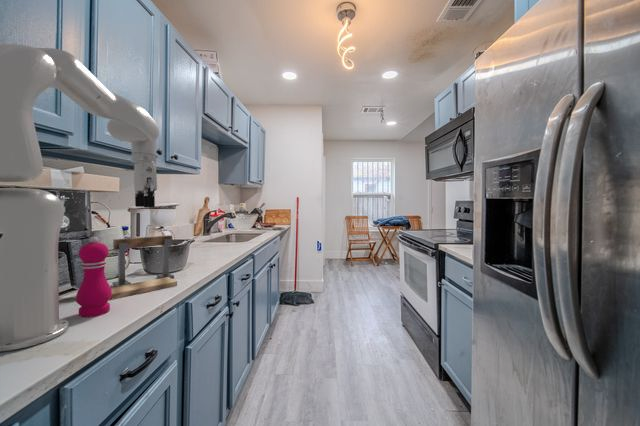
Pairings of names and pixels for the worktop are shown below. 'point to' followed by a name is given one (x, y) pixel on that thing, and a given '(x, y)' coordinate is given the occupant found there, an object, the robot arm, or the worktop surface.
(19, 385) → the worktop surface
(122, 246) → the hook stands
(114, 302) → the worktop surface
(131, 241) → the walnut rail
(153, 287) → the oak board
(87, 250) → the pepper mill
